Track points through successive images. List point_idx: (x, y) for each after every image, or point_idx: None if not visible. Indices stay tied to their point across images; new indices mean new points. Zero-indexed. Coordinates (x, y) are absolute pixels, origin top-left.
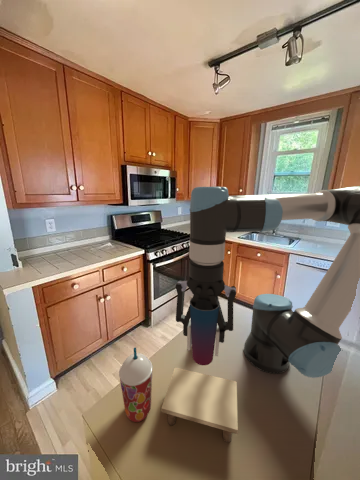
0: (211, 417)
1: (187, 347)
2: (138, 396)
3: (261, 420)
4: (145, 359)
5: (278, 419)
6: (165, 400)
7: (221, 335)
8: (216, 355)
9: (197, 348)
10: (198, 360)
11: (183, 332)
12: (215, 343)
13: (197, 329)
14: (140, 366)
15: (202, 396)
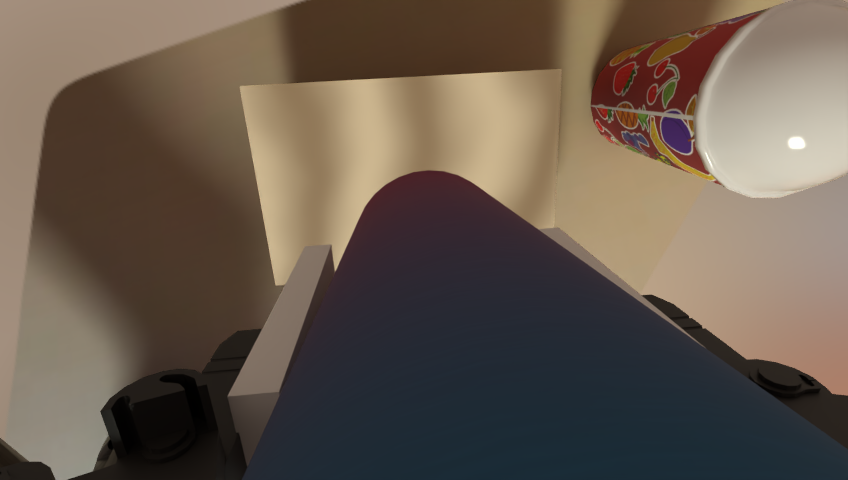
0: (350, 100)
1: (565, 236)
2: (694, 34)
3: (195, 207)
4: (789, 137)
5: (139, 229)
6: (553, 106)
7: (230, 383)
8: (317, 247)
9: (483, 200)
10: (450, 176)
11: (681, 312)
12: (311, 296)
13: (589, 287)
14: (812, 73)
15: (404, 173)
